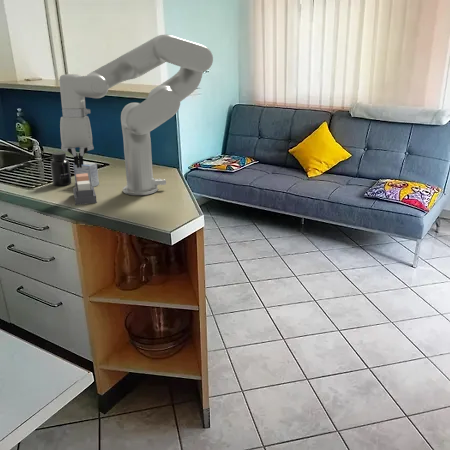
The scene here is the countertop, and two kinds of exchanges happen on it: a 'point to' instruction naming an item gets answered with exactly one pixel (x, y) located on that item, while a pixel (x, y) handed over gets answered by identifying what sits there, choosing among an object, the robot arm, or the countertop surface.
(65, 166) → the supplement bottle
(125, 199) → the countertop surface
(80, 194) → the key panel
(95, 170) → the medicine box
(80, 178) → the terracotta key
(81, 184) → the ivory key
